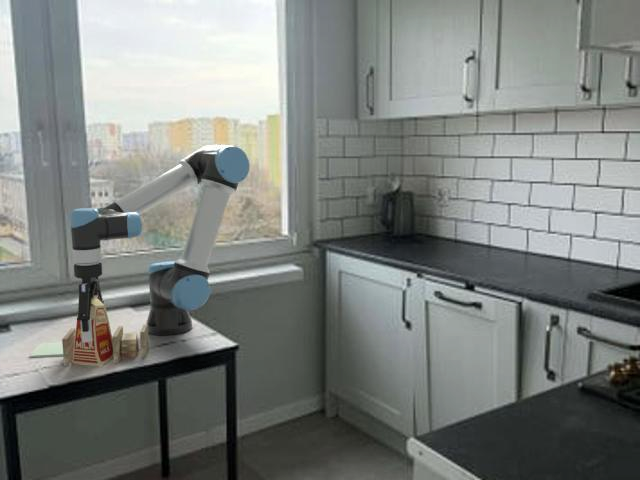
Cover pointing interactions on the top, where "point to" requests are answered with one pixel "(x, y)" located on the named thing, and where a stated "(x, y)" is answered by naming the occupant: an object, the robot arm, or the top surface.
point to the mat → (48, 350)
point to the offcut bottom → (130, 354)
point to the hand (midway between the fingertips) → (92, 334)
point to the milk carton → (94, 338)
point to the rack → (117, 343)
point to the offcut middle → (129, 348)
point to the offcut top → (129, 339)
